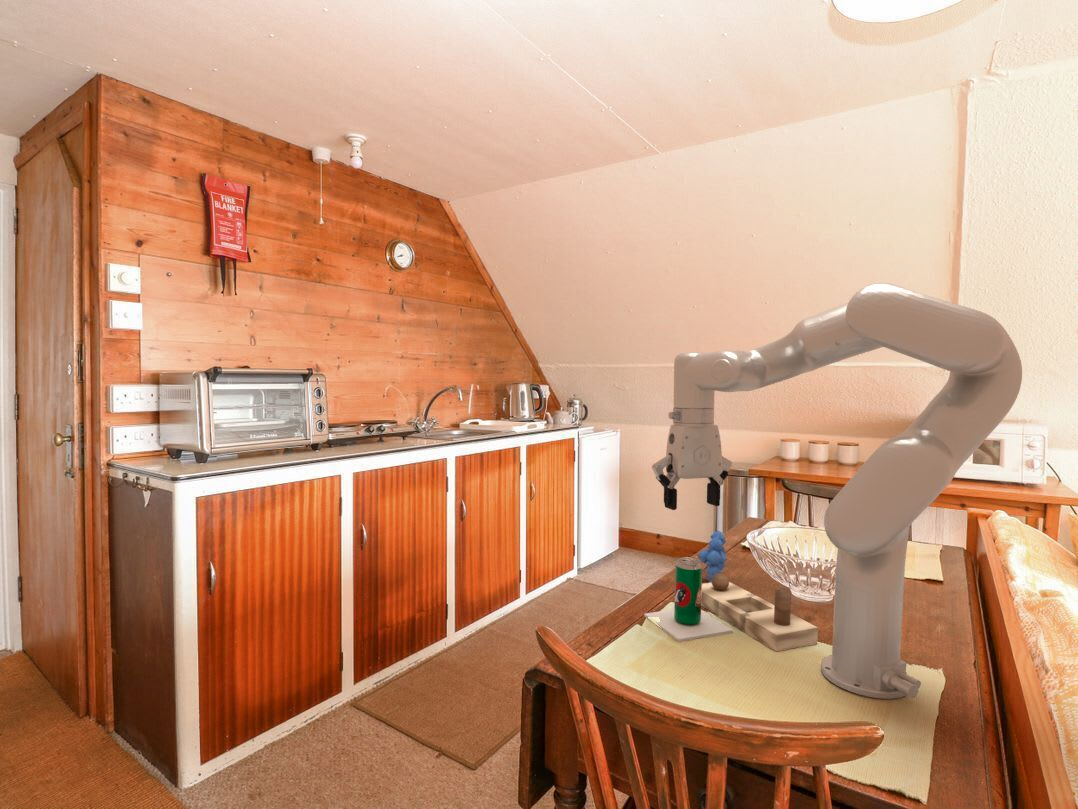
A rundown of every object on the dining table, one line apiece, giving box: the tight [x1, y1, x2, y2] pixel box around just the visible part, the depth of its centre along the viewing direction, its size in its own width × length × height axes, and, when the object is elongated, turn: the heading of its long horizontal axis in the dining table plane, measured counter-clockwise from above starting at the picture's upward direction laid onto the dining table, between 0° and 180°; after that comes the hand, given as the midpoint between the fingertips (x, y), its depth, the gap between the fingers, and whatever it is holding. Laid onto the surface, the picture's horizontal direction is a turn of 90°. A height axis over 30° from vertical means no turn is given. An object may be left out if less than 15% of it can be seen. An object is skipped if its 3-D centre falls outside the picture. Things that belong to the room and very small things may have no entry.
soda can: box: [673, 556, 703, 626], centre depth 116 cm, size 5×5×12 cm
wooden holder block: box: [701, 572, 819, 652], centre depth 118 cm, size 26×9×9 cm, turn 21°
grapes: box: [697, 530, 728, 583], centre depth 139 cm, size 12×7×12 cm, turn 155°
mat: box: [643, 609, 734, 643], centre depth 116 cm, size 12×12×1 cm
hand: (692, 506), depth 114 cm, fingers open, 9 cm apart
